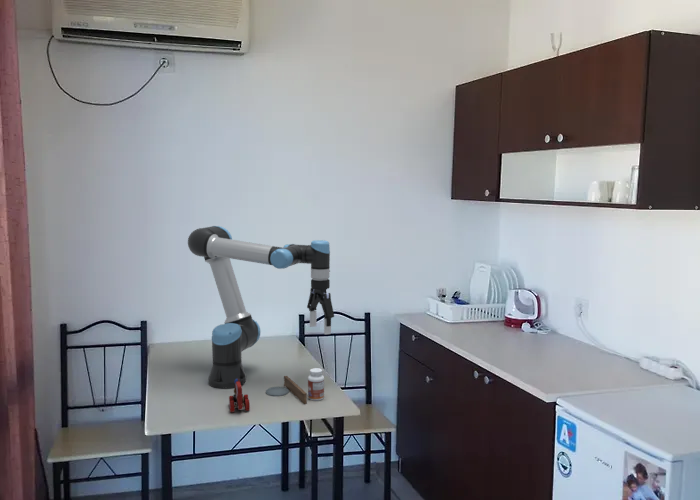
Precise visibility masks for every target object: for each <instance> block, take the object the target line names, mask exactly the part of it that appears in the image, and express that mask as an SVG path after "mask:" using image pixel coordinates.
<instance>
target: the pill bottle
mask: <svg viewBox="0 0 700 500" xmlns="http://www.w3.org/2000/svg"><path fill="white" fill-rule="evenodd" d="M324 398H325V377H324V375H323V369H322V368H319V367H314V368H311V369H309V375H308V376H307V399H309V400H310V401H321V400H323V399H324Z"/></svg>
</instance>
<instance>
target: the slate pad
mask: <svg viewBox="0 0 700 500" xmlns="http://www.w3.org/2000/svg"><path fill="white" fill-rule="evenodd" d="M289 393H290V391H289V389H287V388H286V387H285V386H272V387H269V388H267V389H266V390H265V394H266V395H268V396H271V397H283V396H286V395H288V394H289Z"/></svg>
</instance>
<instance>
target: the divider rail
mask: <svg viewBox="0 0 700 500" xmlns="http://www.w3.org/2000/svg"><path fill="white" fill-rule="evenodd" d="M283 385H284V386H283V387H285V388H287V389H289V393H291V394H292V395H294V397H296V398H297V400H299V401H300V402H301V403H302V404H303V405H306V404H308V403H307V402H308V392H307V391H305V390H304V389H303V388H301V387H300V386H299V385H298V384H297V383H296V381H295V382H294V381H293V380H292V379H291V377H289V376H288V375H284V376H283Z"/></svg>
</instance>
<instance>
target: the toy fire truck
mask: <svg viewBox="0 0 700 500" xmlns="http://www.w3.org/2000/svg"><path fill="white" fill-rule="evenodd" d="M234 383H235V387H234V389H233V393H234V394H233V395H230V396H228V403H229V404H228V405H229V412H230V413H235V411H236V408H237V410H238V411H240V410H243V408H244V410H245V411H244V412H248V411H250V408H251V407H250V406H251V405H250V399H249V395H248V394H244V393H243V387H242V386H243V385H241V383H240V380H239V379H235V381H234Z"/></svg>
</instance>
